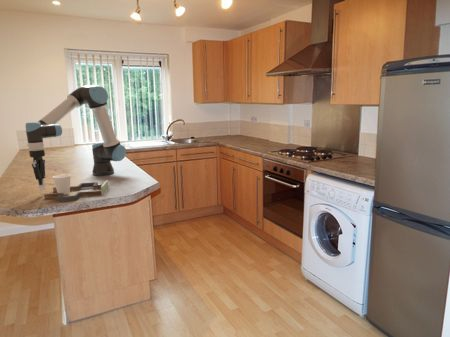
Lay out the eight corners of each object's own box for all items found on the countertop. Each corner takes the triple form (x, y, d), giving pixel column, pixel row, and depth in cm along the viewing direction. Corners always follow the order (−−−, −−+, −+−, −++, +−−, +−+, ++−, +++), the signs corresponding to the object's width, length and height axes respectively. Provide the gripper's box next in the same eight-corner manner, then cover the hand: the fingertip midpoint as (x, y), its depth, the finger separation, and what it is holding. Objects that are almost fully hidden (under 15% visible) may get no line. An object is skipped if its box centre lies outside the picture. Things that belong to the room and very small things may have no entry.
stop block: (106, 188, 205) (106, 180, 203) (108, 188, 205) (108, 180, 204) (101, 195, 190) (100, 186, 189) (103, 195, 190) (102, 186, 189)
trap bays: (72, 187, 208) (72, 183, 208) (98, 185, 211) (97, 182, 210) (56, 201, 180) (56, 197, 179) (86, 199, 182) (85, 195, 181)
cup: (51, 195, 193) (48, 176, 190) (67, 190, 201) (64, 173, 198) (60, 197, 187) (58, 178, 185) (76, 193, 195) (74, 175, 193)
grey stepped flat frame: (54, 191, 200) (53, 187, 200) (106, 188, 205) (106, 184, 204) (44, 198, 185) (43, 194, 185) (101, 195, 190) (101, 191, 189)
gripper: (34, 148, 192) (40, 187, 197) (24, 151, 180) (30, 193, 185) (47, 147, 193) (53, 186, 198) (39, 151, 181) (45, 192, 186)
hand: (42, 189), depth 192 cm, fingers closed
